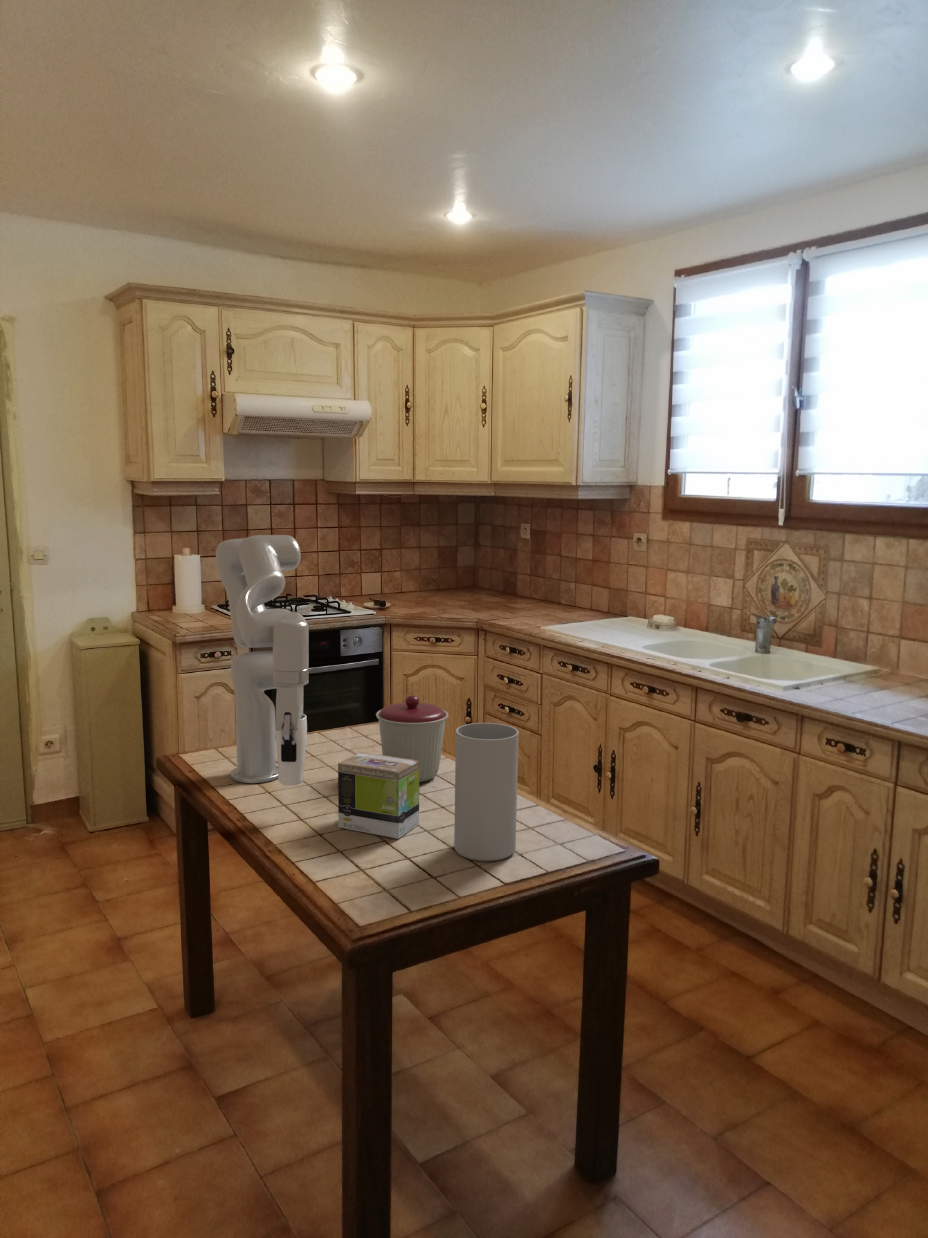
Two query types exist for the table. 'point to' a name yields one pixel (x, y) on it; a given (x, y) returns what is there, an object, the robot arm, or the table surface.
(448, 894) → the table surface
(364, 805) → the tea box
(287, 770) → the white tumbler cup
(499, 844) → the cylinder vase
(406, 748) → the canister
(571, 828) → the table surface
